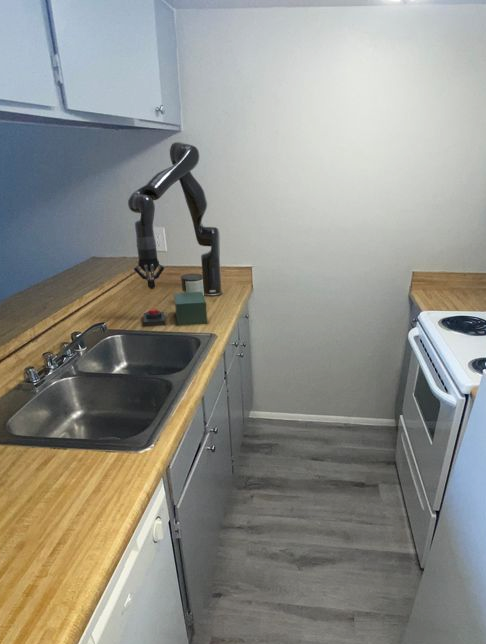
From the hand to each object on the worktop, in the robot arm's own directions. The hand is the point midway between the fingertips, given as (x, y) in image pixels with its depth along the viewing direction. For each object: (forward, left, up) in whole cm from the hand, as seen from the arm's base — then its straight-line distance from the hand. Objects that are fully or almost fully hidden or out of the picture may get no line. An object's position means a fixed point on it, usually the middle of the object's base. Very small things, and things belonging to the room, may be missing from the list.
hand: (151, 288), depth 201 cm
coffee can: (-19, +19, -15) cm, 30 cm away
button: (+1, -1, -11) cm, 11 cm away
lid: (0, +15, -6) cm, 17 cm away
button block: (+1, -1, -15) cm, 15 cm away
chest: (+1, +15, -15) cm, 21 cm away
